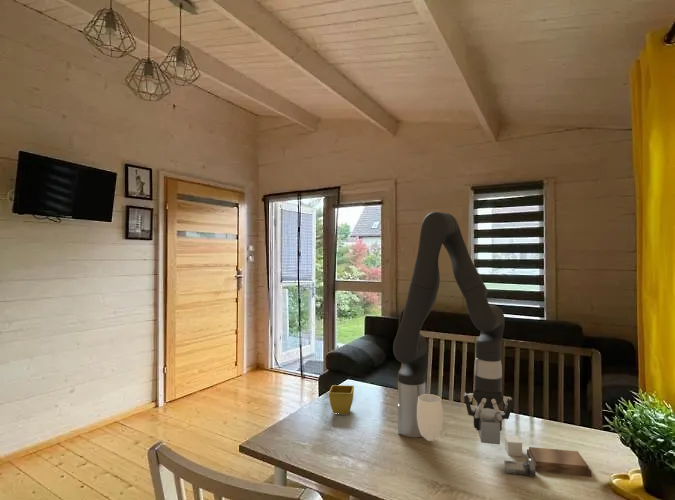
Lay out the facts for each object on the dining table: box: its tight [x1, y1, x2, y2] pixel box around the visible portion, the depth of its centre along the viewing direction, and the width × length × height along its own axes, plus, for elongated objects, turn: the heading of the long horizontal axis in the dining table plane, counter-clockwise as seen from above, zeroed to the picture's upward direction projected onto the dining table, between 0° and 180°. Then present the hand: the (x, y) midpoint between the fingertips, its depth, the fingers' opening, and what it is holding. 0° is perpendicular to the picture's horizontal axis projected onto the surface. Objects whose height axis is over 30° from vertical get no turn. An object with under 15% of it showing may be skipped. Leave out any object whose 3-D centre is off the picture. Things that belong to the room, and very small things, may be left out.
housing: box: [477, 408, 501, 445], centre depth 114 cm, size 5×10×6 cm, turn 167°
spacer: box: [503, 435, 523, 457], centre depth 118 cm, size 4×4×4 cm
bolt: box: [503, 457, 537, 477], centre depth 107 cm, size 7×4×4 cm, turn 77°
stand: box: [526, 446, 593, 478], centre depth 110 cm, size 14×9×2 cm, turn 77°
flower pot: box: [328, 384, 355, 415], centre depth 149 cm, size 9×9×9 cm
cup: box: [417, 393, 444, 442], centre depth 108 cm, size 7×7×21 cm
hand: (487, 430), depth 115 cm, fingers closed on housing, 5 cm apart
